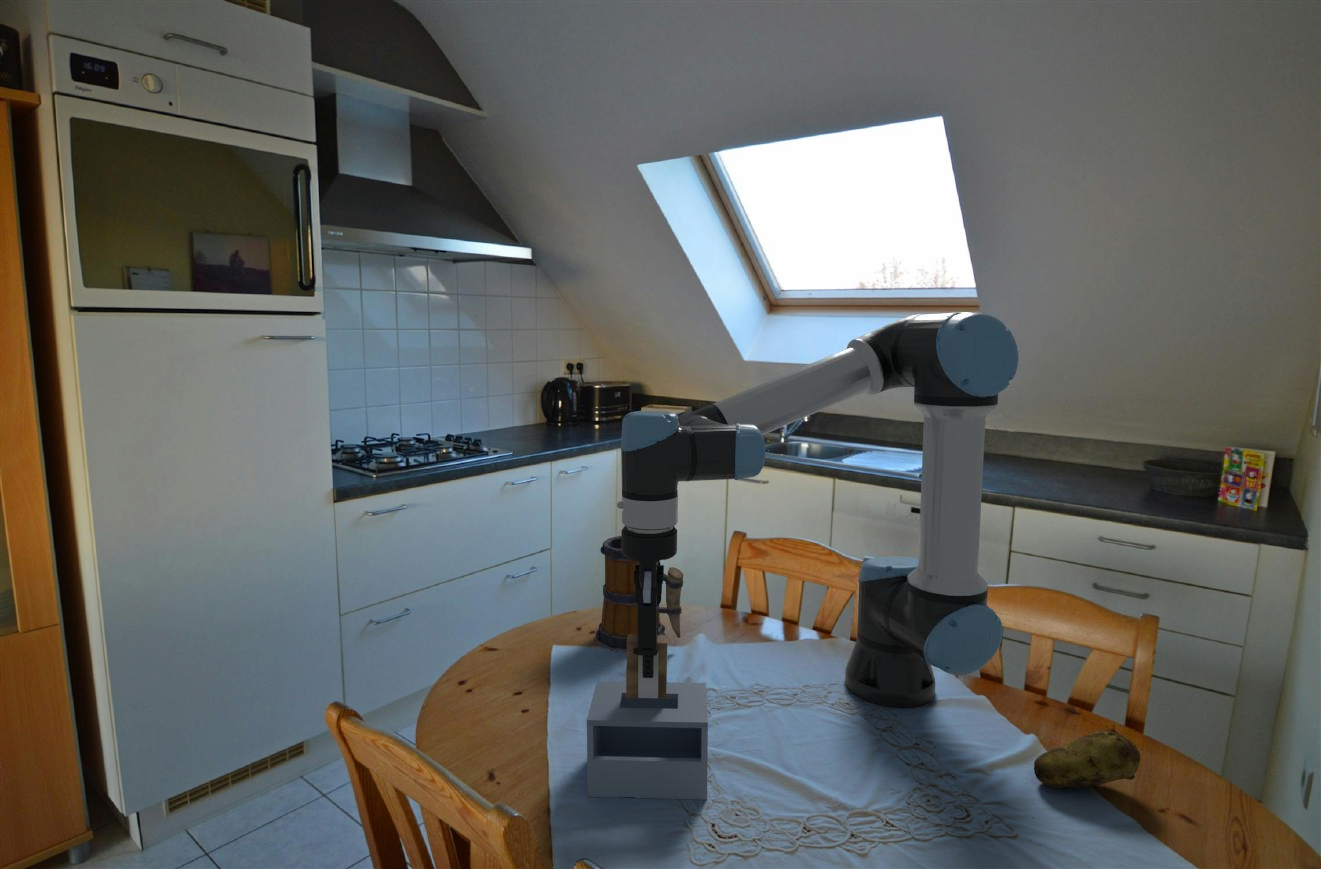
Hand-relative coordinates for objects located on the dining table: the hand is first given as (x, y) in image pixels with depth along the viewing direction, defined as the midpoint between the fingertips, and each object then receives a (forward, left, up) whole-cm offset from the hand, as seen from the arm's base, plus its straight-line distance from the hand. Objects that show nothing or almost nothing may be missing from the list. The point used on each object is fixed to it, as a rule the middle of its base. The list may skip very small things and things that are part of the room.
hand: (648, 690), depth 102 cm
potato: (-60, +1, -13) cm, 61 cm away
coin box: (0, 0, -13) cm, 13 cm away
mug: (+4, -46, -13) cm, 47 cm away
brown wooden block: (0, 0, 0) cm, 1 cm away
